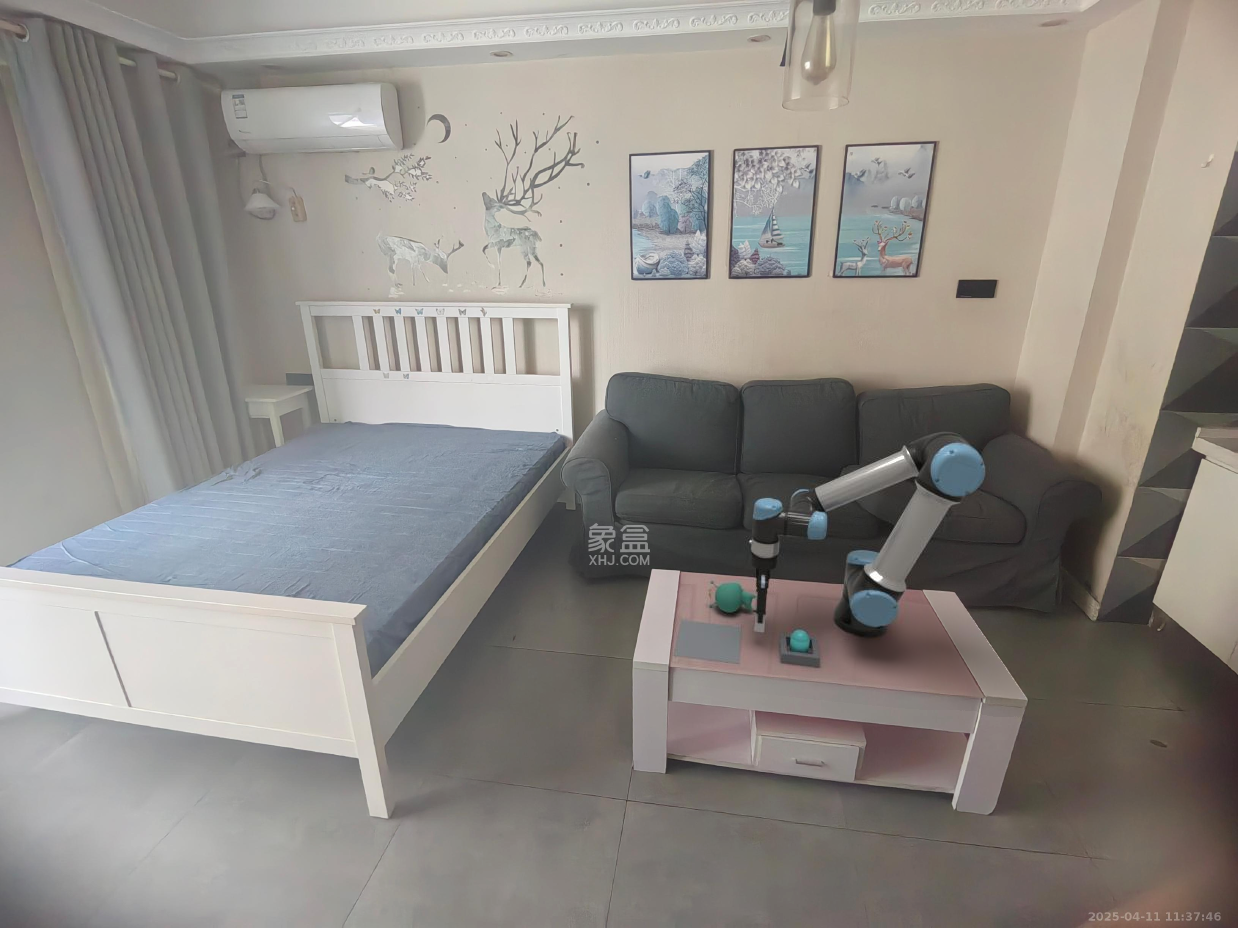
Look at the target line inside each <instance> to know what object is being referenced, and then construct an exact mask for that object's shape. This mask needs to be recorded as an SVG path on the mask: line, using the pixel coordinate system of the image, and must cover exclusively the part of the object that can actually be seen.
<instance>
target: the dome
mask: <svg viewBox="0 0 1238 928" xmlns="http://www.w3.org/2000/svg"><path fill="white" fill-rule="evenodd" d="M790 634H791V640H790V646H789V652H798V653H806V654H809V649H810V648H809V641H810V638H809V636H810V635H809V634H808V633H807V632H806V631H805V630H802V629H796V630H794V631H793V633H790Z"/></svg>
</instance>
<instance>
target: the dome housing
mask: <svg viewBox="0 0 1238 928" xmlns="http://www.w3.org/2000/svg"><path fill="white" fill-rule="evenodd" d="M791 634H792V633H785V632H779V654H780V656H779V658H780V663H781V664H787V665H793V666H794V665H796V666H801V667H802V666H803V667H809V668H810V667H813V668H819V667H820V662H821V661H820V660H821V658H820V657H821V656H820V650H819V643H818V637H817V636H811V635H808V636H809V638H810V641H809V649H810V653H808V654H806V653H798V652H789V651H788V648H787V647H788V646H789V647H790V640H791Z"/></svg>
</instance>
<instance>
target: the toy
mask: <svg viewBox="0 0 1238 928" xmlns="http://www.w3.org/2000/svg"><path fill="white" fill-rule="evenodd" d="M709 583H710V584H712V585H714V587H716V590H715V594H714V601H715V602H713V603H710V604H709V607H710V608H712V607H713V605H717V607H718V608H719V609H720V610H721V611H722V612H725V613H729V614H730V613H734V612H736V611H738V610H739V608H741V606H744V607H745V608H746V609H748V610H749V611H750V612H754V608H753V607H752V603H753V599H756V594H753V593H750V592H746V591H745V589H743V587H742V585H741V583H740V582H738V581H730V582H724V583H721V584H719V585H716V584H715V582H714V580H711V581H710V582H709ZM707 591H708V596H709V599H710V600H711V599H712V597H711V596H712V593H711V591H712V589H711V588H709V589H708V590H707Z"/></svg>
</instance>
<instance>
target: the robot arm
mask: <svg viewBox="0 0 1238 928" xmlns="http://www.w3.org/2000/svg"><path fill="white" fill-rule="evenodd" d="M985 476H986V466H985V463H984V460H983V458H982V455H980V453H979V451H978V450H976V449H975V448H974V447H973V446H972V445H971V444H969V442H968V441H967V439H966V438H964V437H963V436H962V435H960V434H957V433H955V432H951V431H941V432H936V433H932V434H929V435H926V436H923V437H921V438H919V439H916V440H914V441H911V442H910V443H907V444H905V445H903V446H902V449H901V450H900V451H898V452H895V453H893V454H891V455H889V456H887V457H884V458H882V459H880V460H877V461H875V462H872V463H870V464H868V465H865V466H863V467H861V468H858V469H856V470H854V471H852V472H850V473H848V474H845V475H842V476H840V477H837V478H835V479H833V480H831V481H829V482H826V483H823V484H821V485H819V486H817V487H814V488H812V489H810V490H809V489H805V488H804V489H803V488H801V489H798V490H797V491H795V492H794V493H793V494H792V495H791V498H790V501H789V508H784V507H783V504H782V502H781V501H780V500H779V499H774V498H771V497H765V498H760V499H758V500H756V501H755V503H754V507H753V515H752V529H751V539H750V540H749V541H748V543H749V544H750V545H751V547H750V550H751V552H750V557H749V558H750V559H749V560H750V561H749V564H750V566H751V567H753V568H754V569H755V579H756V582H755V588H756V589H755V592H756V593H755V595H756V598H754V600H755V601H754V609H753V613H754V614H755V615H754V616H755V617H754V630H753V631H754V632H758V633H764V632H765V624H766V622H765V621H766V614H767V611H766V610H767V598H768V589H769V585H770V580H771V579H770V578H771V571H772V570H773V571H774V569H776V568H777V567H778V562H779V561H778V560H779V555H778V554H779V550H780V538H781V537H790V538H799V539H806V540H824V539H825V538H826V536H827V530H828V529H827V528H828V515H827V512H829V511H831V510H834V509H836V508H838V507H841V506H844V505H846V504H849V503H851V502H855V501H856V500H858V499H861V498H863V497H866V496H868V495H870V494H873V493H876V492H878V491H881V490H883V489H885V488H888V487H891V486H893V485H895V484H897V483H900V482H903V481H906V480H908V479H911V478H912V477H916V478H915V479H914V482H915V486H916V490H915V492H914V493H913V495H912V497H911V499H910V500H909V502H908V504H907V505H906V507H905V509H904V510H903V513H902V514H901V516H900V517H899V519H898V520H897V523H896V525H895V526H894V527H893V530H892V531H891V532H890V534H889V536H888V538H887V539H886V541H885V543H884V544H883V546H882V548H881V549H880V551H879V552H876V551H872V550H865V549H863V550H862V549H861V550H860V549H857V550H853V551H850V552H849V553H848V554H847V556H846V560H845V573H844V579H843V581H844V582H843V587H842V588H843V589H842V596H841V598H840V600H839V602H838V604H836V606H835V609H834V611H833V623H834V624H835V625H836V626H837V627H838V628H839V629H840V630H842V631H843V632H846V633H847V634H850V635H853V636H857V637H861V638H876V637H880V636H883V635H884V634H885V633H886V632H887V628H888V625H890V624H892V623H893V622H894V621H895V620H896V619H897V616H898V614H899V604H898V602H899V601H900V600H901V598H902V596H903V595H904V593H905V591H906V590H907V585H906V582H905V580H906V578H907V576H908V575H909V573H910V571H912V568H913V567H914V565H915V564H916V561H917V560H918V559H919V557H920V555H921V554H922V552H923V551H924V549H925V547H926V546H927V544H928V543H929V541H930V540H931V538H932V537H933V535H934V533H935V531H936V530H937V528H938V527H939V525H940V523H941V522H942V520H943V519H944V517H945V516H946V514H947V512H948V510H949V509H950V507H951V506H954V505H958V504H961V503H962V501H963V499H964V498H965V496H966V495H968V494H972V493H973V492H975V491H977V490H978V488H979V487H980V486H981V485H982V484H983V482H984V479H985ZM780 536H781V537H780Z"/></svg>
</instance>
